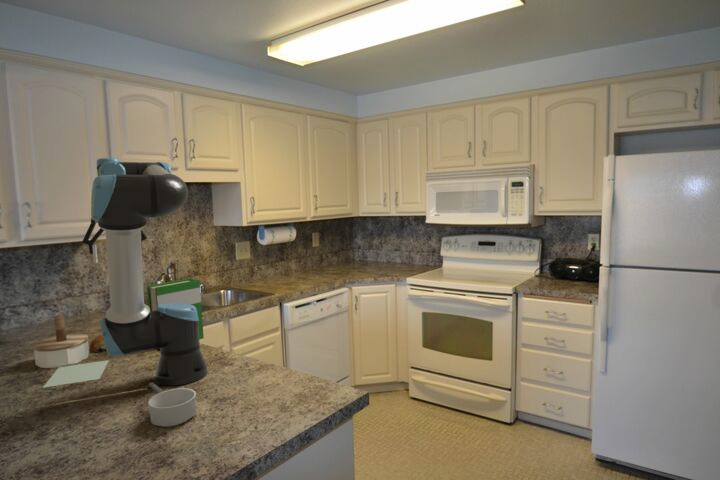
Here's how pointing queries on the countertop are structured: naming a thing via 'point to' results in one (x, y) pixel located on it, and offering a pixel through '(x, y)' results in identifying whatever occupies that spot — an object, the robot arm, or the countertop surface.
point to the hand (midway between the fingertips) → (117, 261)
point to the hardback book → (177, 296)
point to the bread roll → (98, 344)
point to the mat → (77, 373)
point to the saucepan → (171, 406)
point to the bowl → (61, 356)
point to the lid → (60, 338)
